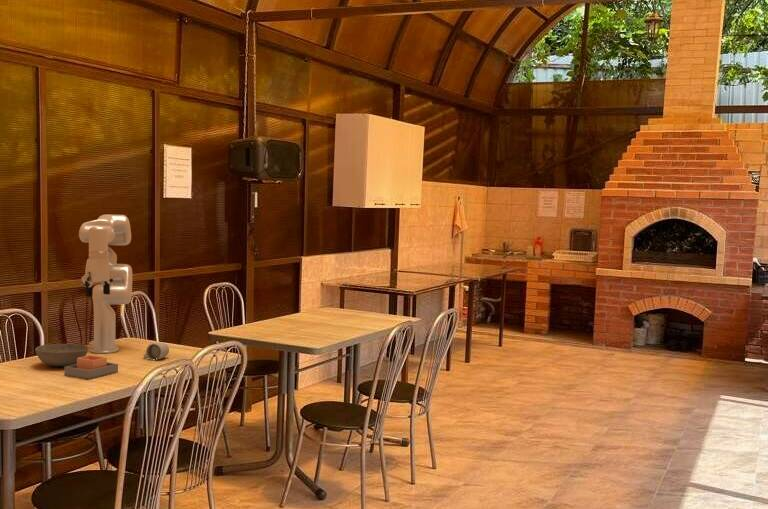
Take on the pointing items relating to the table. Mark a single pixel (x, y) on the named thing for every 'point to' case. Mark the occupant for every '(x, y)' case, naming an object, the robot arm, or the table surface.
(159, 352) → the ceramic mug
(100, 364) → the crate small
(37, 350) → the bowl
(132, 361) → the table surface
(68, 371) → the tray
